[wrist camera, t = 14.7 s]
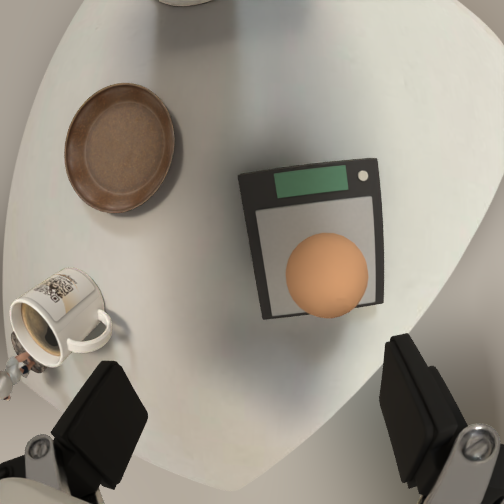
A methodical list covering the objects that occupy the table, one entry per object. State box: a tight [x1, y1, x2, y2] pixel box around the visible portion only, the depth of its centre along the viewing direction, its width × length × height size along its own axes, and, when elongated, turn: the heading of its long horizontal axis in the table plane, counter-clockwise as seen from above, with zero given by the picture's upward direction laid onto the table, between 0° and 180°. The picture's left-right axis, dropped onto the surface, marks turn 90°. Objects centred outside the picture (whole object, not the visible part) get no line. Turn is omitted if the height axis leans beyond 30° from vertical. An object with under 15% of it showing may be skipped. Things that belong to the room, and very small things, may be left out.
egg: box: [286, 233, 368, 318], centre depth 25 cm, size 7×7×8 cm
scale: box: [238, 158, 384, 320], centre depth 30 cm, size 16×14×3 cm
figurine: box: [0, 331, 48, 401], centre depth 33 cm, size 15×9×18 cm, turn 163°
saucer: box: [64, 83, 174, 213], centre depth 29 cm, size 15×15×3 cm
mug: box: [10, 267, 112, 367], centre depth 32 cm, size 10×12×11 cm
